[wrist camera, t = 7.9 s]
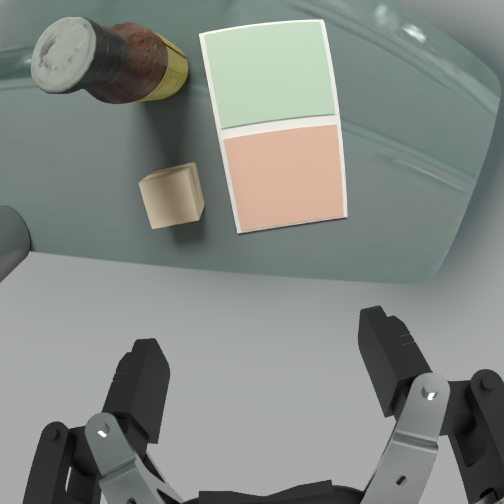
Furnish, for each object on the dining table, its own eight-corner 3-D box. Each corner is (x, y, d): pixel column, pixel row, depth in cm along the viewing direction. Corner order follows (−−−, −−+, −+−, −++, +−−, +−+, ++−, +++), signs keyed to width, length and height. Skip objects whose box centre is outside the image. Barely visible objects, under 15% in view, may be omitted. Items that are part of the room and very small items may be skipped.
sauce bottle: (128, 61, 25) (2, 37, 8) (180, 37, 24) (97, -35, 7) (147, 111, 28) (28, 135, 10) (200, 88, 27) (131, 68, 10)
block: (164, 212, 34) (152, 229, 29) (153, 171, 31) (138, 183, 27) (205, 203, 33) (198, 220, 29) (195, 161, 31) (186, 171, 27)
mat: (237, 232, 35) (237, 234, 34) (199, 34, 24) (198, 33, 24) (346, 215, 34) (347, 217, 34) (322, 20, 23) (324, 19, 23)
